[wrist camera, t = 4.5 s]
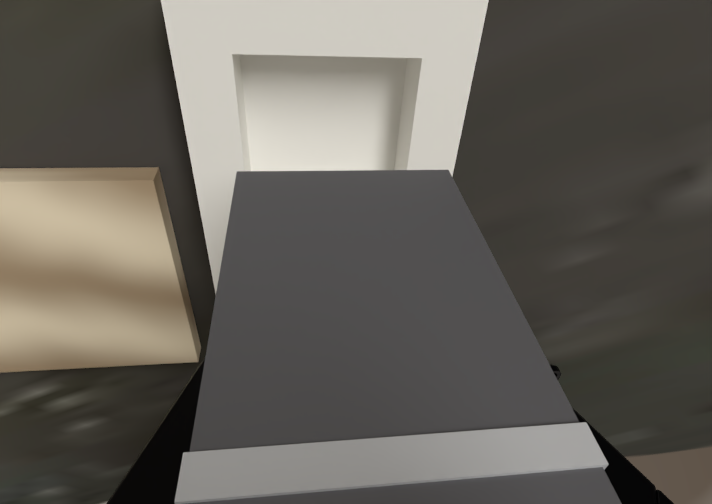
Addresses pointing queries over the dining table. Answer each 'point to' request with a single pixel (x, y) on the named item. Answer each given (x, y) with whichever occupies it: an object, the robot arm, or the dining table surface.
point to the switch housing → (318, 88)
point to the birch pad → (90, 271)
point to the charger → (375, 357)
